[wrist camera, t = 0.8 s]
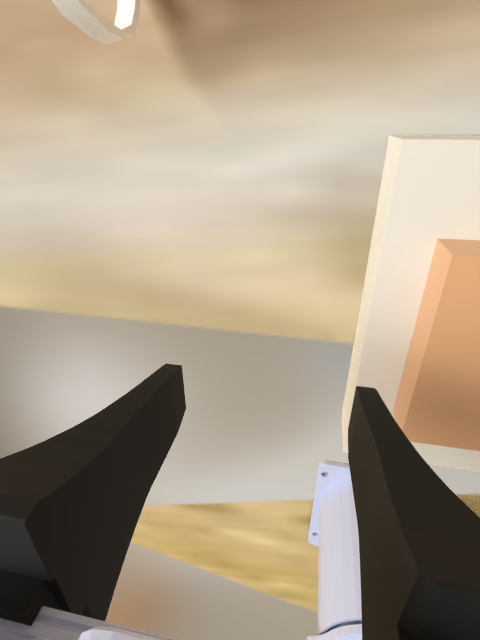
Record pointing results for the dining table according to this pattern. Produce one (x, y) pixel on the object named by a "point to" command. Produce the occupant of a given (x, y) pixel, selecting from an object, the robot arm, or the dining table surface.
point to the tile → (445, 353)
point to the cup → (101, 19)
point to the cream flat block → (411, 263)
